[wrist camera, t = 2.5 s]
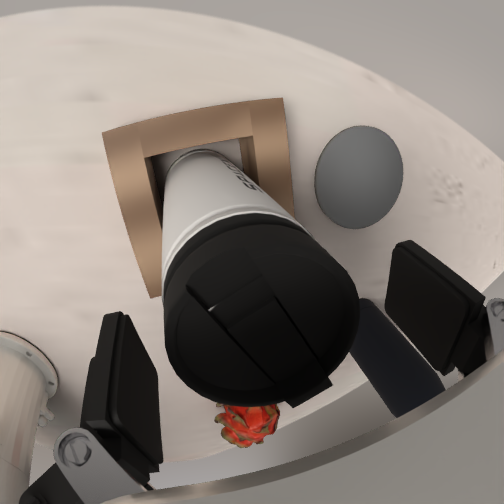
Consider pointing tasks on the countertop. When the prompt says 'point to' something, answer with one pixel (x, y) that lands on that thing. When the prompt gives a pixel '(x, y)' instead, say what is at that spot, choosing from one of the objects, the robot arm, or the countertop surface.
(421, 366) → the black water bottle
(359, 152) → the coaster
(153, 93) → the countertop surface
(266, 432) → the dragon fruit
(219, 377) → the travel mug
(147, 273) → the mug holder
